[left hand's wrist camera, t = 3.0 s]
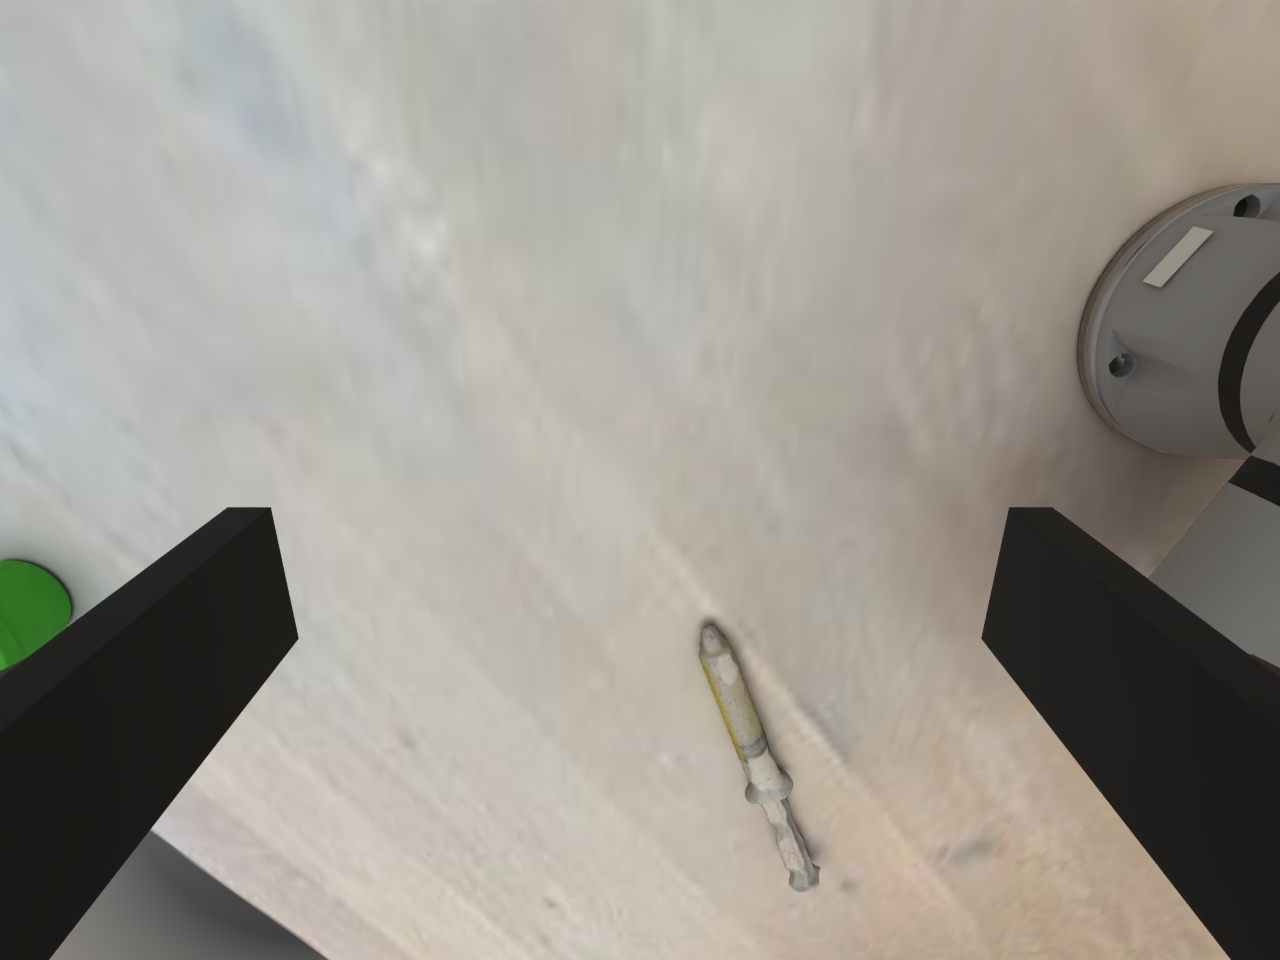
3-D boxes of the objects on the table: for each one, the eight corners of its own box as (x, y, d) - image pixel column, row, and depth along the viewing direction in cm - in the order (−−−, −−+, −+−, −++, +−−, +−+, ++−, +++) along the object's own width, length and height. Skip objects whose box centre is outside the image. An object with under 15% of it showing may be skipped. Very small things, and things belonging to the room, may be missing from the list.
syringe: (687, 624, 49) (689, 648, 46) (739, 610, 48) (744, 633, 46) (773, 869, 58) (779, 900, 55) (818, 859, 57) (826, 890, 55)
